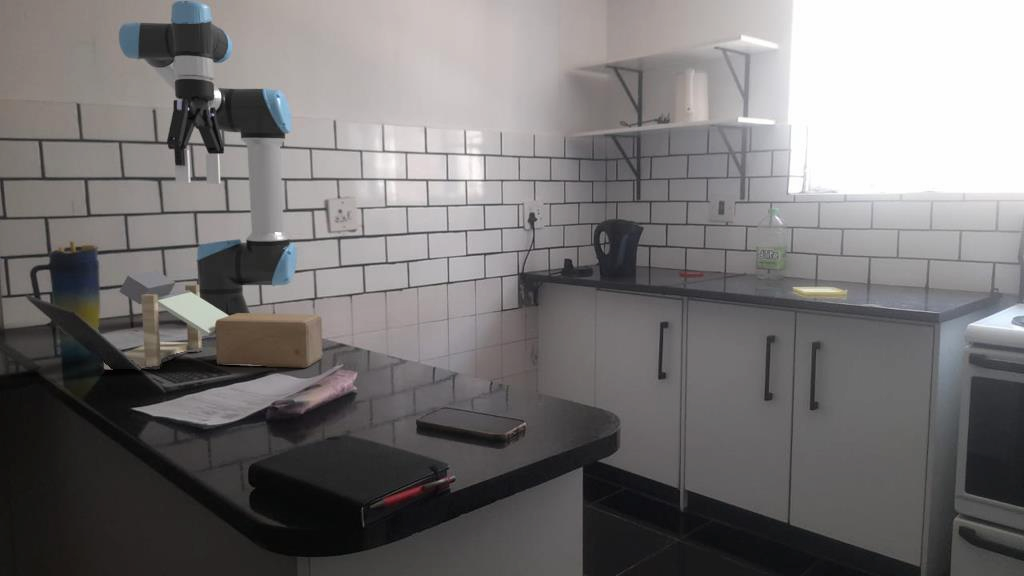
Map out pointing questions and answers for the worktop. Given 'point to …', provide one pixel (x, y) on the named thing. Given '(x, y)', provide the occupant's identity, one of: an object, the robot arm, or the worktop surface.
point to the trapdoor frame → (152, 345)
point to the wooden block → (269, 339)
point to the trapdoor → (173, 300)
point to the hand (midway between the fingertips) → (199, 183)
